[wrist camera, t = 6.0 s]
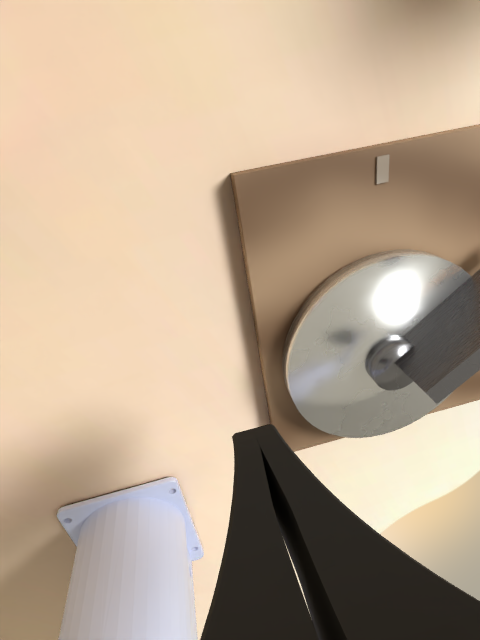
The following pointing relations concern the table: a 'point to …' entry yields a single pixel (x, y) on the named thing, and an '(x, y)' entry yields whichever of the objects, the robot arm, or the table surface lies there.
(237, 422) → the table surface
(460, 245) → the dial board
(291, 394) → the dial
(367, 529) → the robot arm
